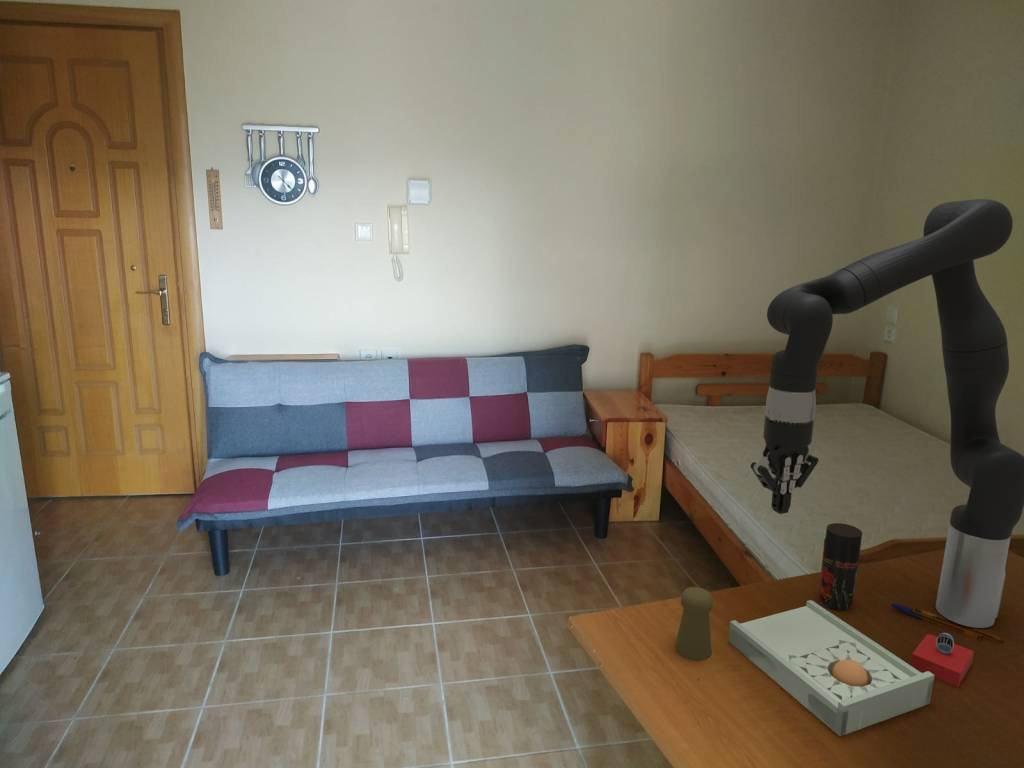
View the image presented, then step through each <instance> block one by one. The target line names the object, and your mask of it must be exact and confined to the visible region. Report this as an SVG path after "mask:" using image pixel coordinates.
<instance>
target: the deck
mask: <svg viewBox="0 0 1024 768" xmlns="http://www.w3.org/2000/svg"><path fill="white" fill-rule="evenodd" d="M729 642H730V643H729ZM728 643H729V644H730V645H732V646H733V647H734V646H735V647H734V648H735V649H737V650H738V651H739V652H740V653H741V654H742V653H743V654H742V655H743V656H745V657H746V658H747V659H748V660H749V661H750V662H752V664H754V665H755V666H756V667H757V668H759V669H760V670H761V671H762V672H763V673H765V674H766V676H768V677H769V678H770V679H772V680H773V681H774V682H775V683H776V684H777V685H779V686H780V687H781V688H782V690H785V691H786V693H788V694H789V695H790V696H791V697H792V698H794V699H795V700H797V702H799V704H801V705H802V706H804V707H805V708H806V710H808V711H809V712H811V713H812V714H813V715H814V716H815V717H816V718H818V719H819V720H820V721H821V722H822V723H823V724H824V725H826V726H827V727H828V728H829V729H831V730H832V731H833V732H834V733H835V734H836V735H837V736H838V737H842V736H846V735H849V734H851V733H854V732H856V731H861V730H862V729H865V728H868V727H871V726H873V725H875V724H879V723H881V722H883V721H887V720H889V719H891V718H894V717H897V716H900V715H902V714H903V715H904V714H905V713H908V712H912V711H914V710H916V709H919V708H922V707H925V706H927V705H930V703H931V699H932V691H933V686H934V685H933V684H934V682H935V681H934V679H935V678H934V674H932V673H931V672H929V671H927V672H924V673H922V672H920V671H918V670H916V669H915V668H913V667H912V666H910V665H911V664H909V663H907V662H905V661H904V660H903V659H901V658H900V657H898V656H896V655H895V654H893V653H892V652H891V651H889V650H887V649H886V648H884V647H883V646H881V645H880V644H879V643H877V642H875V641H874V640H873V639H872V638H869V637H868V636H866V635H865V634H863V632H860V631H859V630H858V629H856V628H854V627H853V626H851V625H850V624H848V623H846V622H845V621H843V619H841V618H840V617H837V616H836V615H835V614H833V613H831V611H829V610H827V608H826V609H825V607H824V606H821V604H818V603H816V602H815V601H814V600H812V599H810V600H807V601H806V605H805V606H801V607H798V608H794V609H790V610H786V611H783V612H779V613H774V614H772V615H771V614H770V615H767V616H764V617H761V618H757V619H752V620H749V621H748V620H747V621H745V622H742V623H740V622H738V621H737V620H735V619H734V620H731V621H730V623H729V633H728ZM844 659H850V660H853V661H856V662H858V663H859V664H860V665H861V666H862V667H863V668H864V669H865V671H866V673H867V677H868V683H867V686H864V687H858V686H850V685H847V684H844V683H842V682H839V681H838V680H836V679H835V678H834V677H832V669H833V667H834V665H835V664H836V663H837V662H838V661H840V660H844Z"/></svg>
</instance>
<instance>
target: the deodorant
mask: <svg viewBox="0 0 1024 768" xmlns="http://www.w3.org/2000/svg"><path fill="white" fill-rule="evenodd" d="M825 532H826V533H825V539H824V548H823V557H822V565H821V572H820V582H819V588H818V589H819V590H818V597H817V599H818V600H817V601H818V603H819V605H822V607H824V608H826V609H829V610H832V611H837V612H847V611H851V609H852V608H853V607H854V606H853V605H854V604H853V603H854V597H855V589H856V582H857V576H858V574H857V573H858V568H859V562H860V561H859V560H860V554H861V553H860V552H861V545H862V537H863V532H862V530H861V529H859V528H857V527H856V526H854V525H851V524H848V523H840V522H835V523H834V522H833V523H829V524H828V525H827V526H826V531H825Z"/></svg>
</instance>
